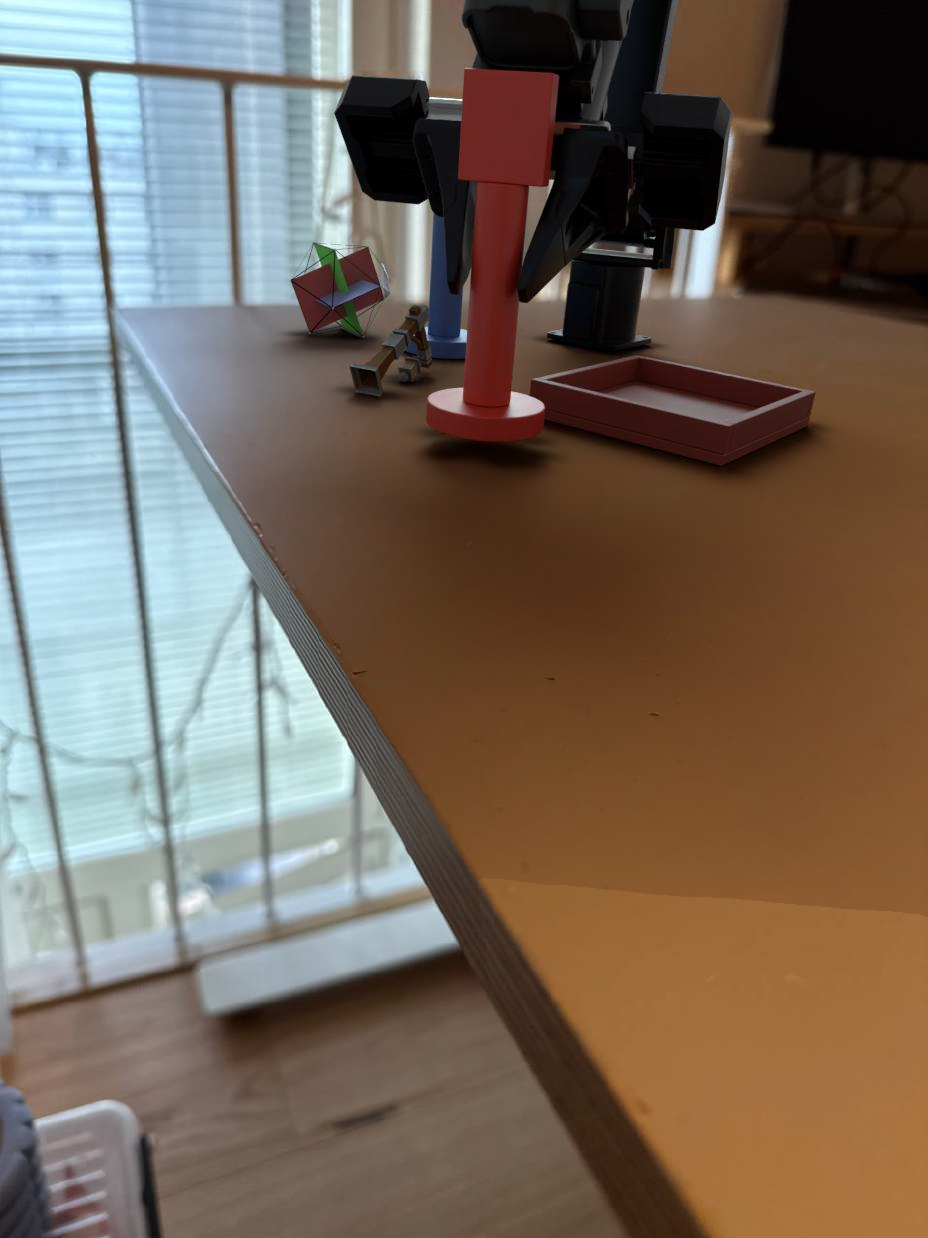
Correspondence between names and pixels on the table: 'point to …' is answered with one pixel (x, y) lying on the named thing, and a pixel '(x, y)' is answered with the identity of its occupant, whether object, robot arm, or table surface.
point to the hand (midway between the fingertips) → (486, 292)
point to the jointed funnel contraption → (396, 354)
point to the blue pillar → (442, 306)
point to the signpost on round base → (498, 248)
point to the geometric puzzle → (339, 289)
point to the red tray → (674, 407)
